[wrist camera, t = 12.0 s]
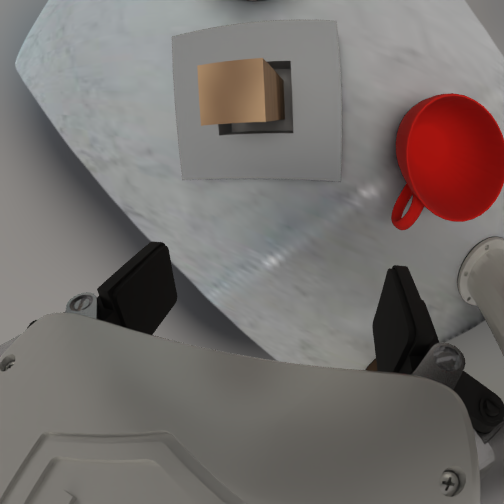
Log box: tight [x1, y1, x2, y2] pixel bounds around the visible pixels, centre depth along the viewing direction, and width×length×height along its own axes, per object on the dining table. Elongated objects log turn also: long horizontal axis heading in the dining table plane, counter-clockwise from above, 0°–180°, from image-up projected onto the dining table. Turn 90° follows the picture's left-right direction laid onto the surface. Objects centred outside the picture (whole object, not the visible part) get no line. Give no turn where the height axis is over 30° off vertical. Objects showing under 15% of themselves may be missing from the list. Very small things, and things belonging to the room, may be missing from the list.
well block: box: [172, 20, 342, 182], centre depth 28 cm, size 18×18×6 cm
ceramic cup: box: [391, 93, 504, 230], centre depth 24 cm, size 13×17×10 cm
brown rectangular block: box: [197, 58, 285, 126], centre depth 24 cm, size 5×5×14 cm
